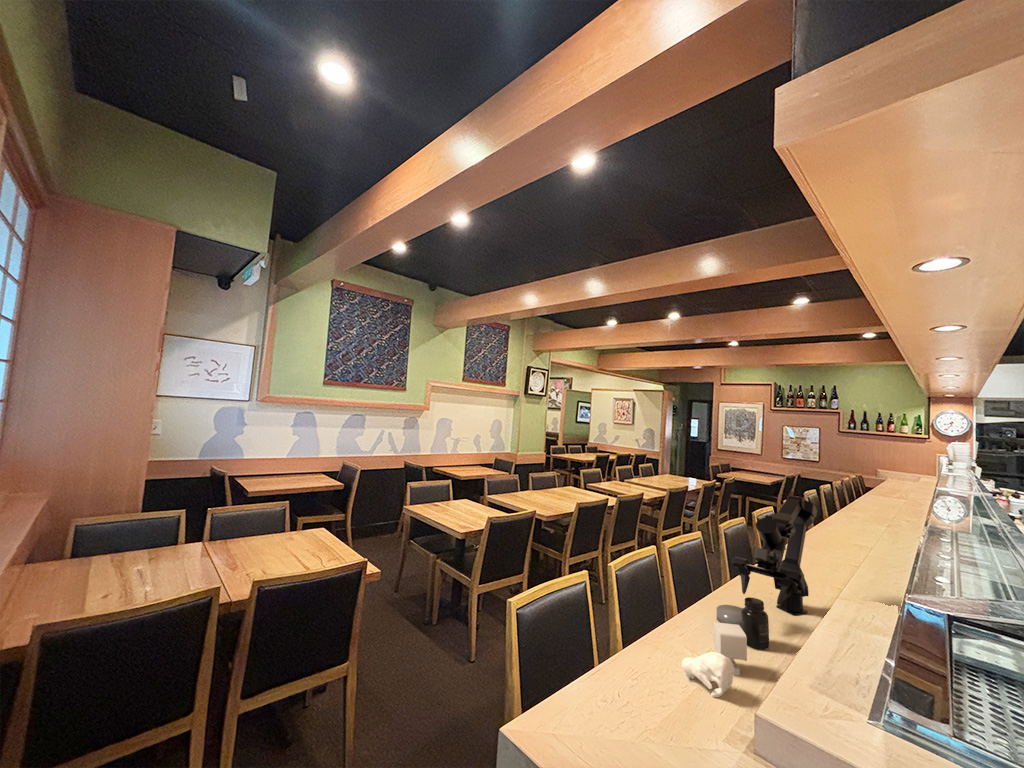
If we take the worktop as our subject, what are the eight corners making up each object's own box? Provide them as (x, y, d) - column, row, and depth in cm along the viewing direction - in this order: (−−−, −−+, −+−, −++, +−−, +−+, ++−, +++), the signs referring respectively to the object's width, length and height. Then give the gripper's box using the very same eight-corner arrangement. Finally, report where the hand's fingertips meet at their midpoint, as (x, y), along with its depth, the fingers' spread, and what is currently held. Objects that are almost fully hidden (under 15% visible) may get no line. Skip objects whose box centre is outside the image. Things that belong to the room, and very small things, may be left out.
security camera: (747, 678, 104) (747, 635, 105) (717, 673, 105) (716, 632, 106) (739, 663, 110) (738, 623, 111) (710, 659, 112) (710, 620, 112)
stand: (733, 612, 139) (733, 603, 139) (760, 627, 130) (760, 617, 130) (709, 616, 136) (709, 606, 136) (735, 631, 126) (734, 621, 127)
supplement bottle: (766, 640, 122) (765, 597, 123) (772, 653, 115) (771, 607, 116) (739, 636, 124) (738, 594, 125) (743, 647, 118) (743, 603, 119)
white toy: (723, 663, 95) (674, 645, 104) (727, 705, 94) (677, 682, 103) (735, 653, 99) (687, 637, 108) (739, 693, 97) (690, 673, 107)
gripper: (733, 530, 135) (719, 573, 127) (801, 544, 121) (790, 594, 113) (743, 551, 140) (729, 593, 132) (810, 567, 126) (799, 616, 118)
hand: (760, 598), depth 124 cm, fingers open, 9 cm apart
